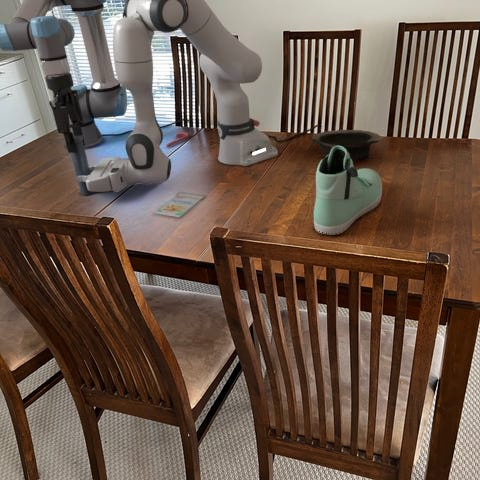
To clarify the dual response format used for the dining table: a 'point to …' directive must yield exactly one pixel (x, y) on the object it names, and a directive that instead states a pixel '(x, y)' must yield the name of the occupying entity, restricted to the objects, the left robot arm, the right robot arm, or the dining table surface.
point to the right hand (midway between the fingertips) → (81, 174)
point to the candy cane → (185, 135)
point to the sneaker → (343, 192)
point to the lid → (78, 137)
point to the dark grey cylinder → (81, 166)
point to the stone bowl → (347, 142)
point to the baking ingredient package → (179, 204)
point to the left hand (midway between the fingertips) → (77, 148)
